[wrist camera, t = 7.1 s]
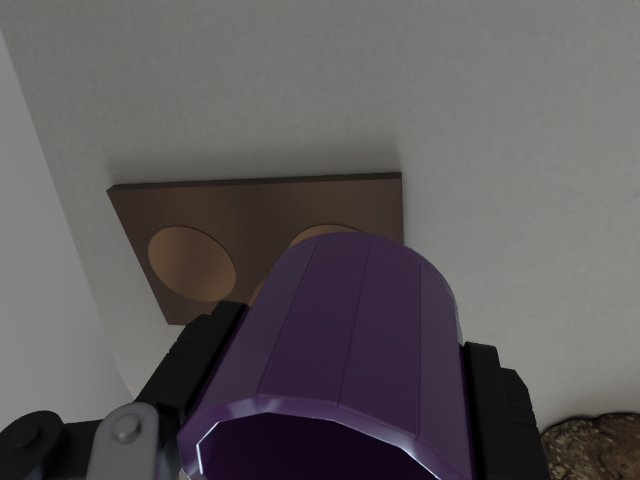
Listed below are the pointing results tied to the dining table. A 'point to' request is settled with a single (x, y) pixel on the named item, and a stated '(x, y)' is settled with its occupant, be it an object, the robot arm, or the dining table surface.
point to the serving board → (242, 230)
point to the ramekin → (338, 373)
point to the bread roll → (594, 449)
